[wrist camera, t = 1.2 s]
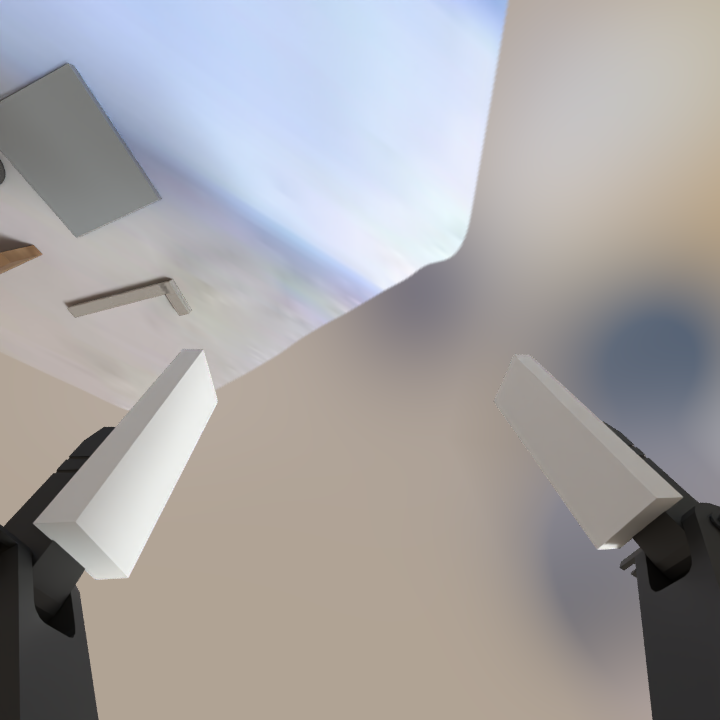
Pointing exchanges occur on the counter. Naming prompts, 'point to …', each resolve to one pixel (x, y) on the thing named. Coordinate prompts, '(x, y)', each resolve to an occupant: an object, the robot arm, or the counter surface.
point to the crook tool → (135, 299)
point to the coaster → (72, 153)
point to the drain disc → (2, 172)
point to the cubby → (17, 257)
